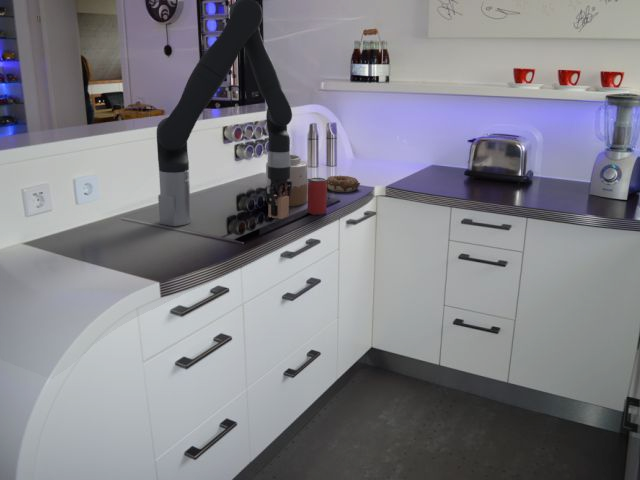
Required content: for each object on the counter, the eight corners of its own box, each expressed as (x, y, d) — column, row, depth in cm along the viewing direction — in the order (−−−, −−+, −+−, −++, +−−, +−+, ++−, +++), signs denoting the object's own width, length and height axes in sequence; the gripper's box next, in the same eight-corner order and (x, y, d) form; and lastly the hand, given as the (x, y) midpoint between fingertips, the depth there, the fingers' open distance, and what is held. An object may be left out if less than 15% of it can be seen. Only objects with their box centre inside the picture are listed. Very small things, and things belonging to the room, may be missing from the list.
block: (281, 219, 202) (281, 199, 200) (268, 216, 204) (268, 196, 202) (288, 215, 206) (288, 195, 204) (276, 213, 208) (276, 193, 206)
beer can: (324, 216, 207) (325, 182, 203) (305, 214, 208) (306, 180, 204) (327, 211, 213) (329, 178, 209) (309, 209, 214) (310, 176, 210)
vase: (311, 198, 230) (313, 155, 224) (299, 208, 216) (300, 162, 210) (274, 194, 234) (274, 151, 228) (259, 204, 220) (259, 158, 214)
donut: (321, 191, 241) (321, 179, 239) (329, 184, 253) (329, 172, 252) (356, 195, 238) (357, 182, 236) (362, 187, 250) (363, 175, 249)
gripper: (277, 169, 192) (277, 220, 197) (299, 162, 204) (298, 210, 209) (257, 166, 195) (257, 217, 200) (280, 159, 207) (280, 207, 212)
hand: (278, 213), depth 205 cm, fingers closed on block, 5 cm apart
